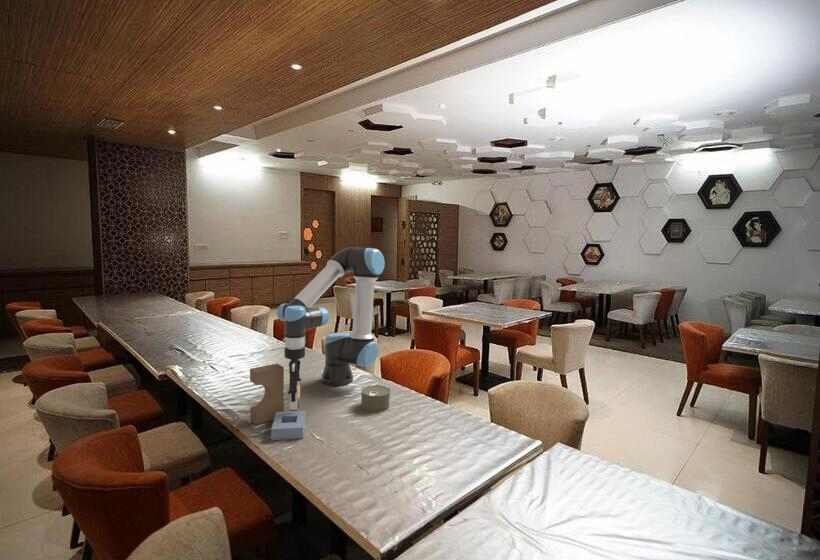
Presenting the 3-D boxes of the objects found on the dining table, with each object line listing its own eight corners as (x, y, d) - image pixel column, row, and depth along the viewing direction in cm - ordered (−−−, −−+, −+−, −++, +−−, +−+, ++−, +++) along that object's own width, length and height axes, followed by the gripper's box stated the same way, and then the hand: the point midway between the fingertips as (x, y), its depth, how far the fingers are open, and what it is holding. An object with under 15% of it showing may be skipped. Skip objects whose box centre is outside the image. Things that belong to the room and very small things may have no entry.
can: (393, 403, 176) (394, 387, 175) (384, 414, 164) (384, 397, 164) (367, 399, 179) (367, 383, 178) (356, 410, 167) (356, 393, 167)
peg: (300, 413, 162) (300, 384, 161) (299, 418, 158) (299, 388, 157) (289, 414, 161) (289, 384, 160) (288, 419, 157) (288, 388, 156)
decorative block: (255, 425, 151) (254, 372, 149) (249, 419, 155) (249, 368, 153) (284, 417, 158) (284, 366, 156) (278, 412, 163) (278, 363, 160)
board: (305, 420, 156) (305, 410, 156) (303, 438, 143) (303, 427, 142) (276, 421, 154) (276, 411, 154) (271, 440, 141) (271, 429, 140)
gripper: (287, 339, 167) (287, 392, 169) (281, 355, 145) (281, 416, 147) (306, 339, 168) (306, 391, 171) (303, 355, 146) (302, 415, 149)
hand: (294, 403), depth 159 cm, fingers open, 10 cm apart
